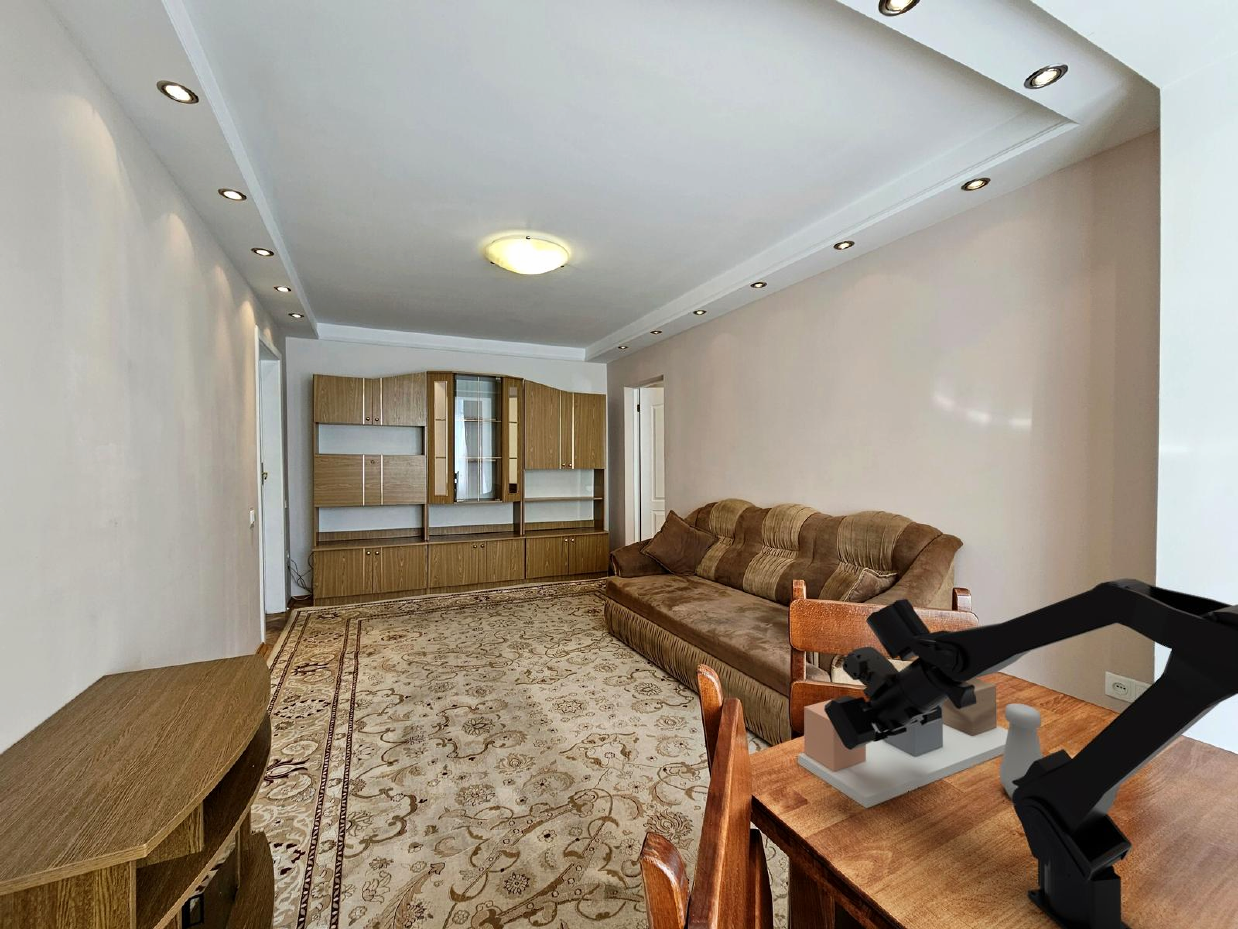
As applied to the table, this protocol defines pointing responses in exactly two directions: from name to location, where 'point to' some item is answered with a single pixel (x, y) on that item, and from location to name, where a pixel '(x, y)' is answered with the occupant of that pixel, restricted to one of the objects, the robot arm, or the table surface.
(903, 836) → the table surface
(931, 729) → the dark slate block
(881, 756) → the grey base board
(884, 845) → the table surface
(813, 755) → the terracotta block
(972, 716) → the walnut block
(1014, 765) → the salt shaker
